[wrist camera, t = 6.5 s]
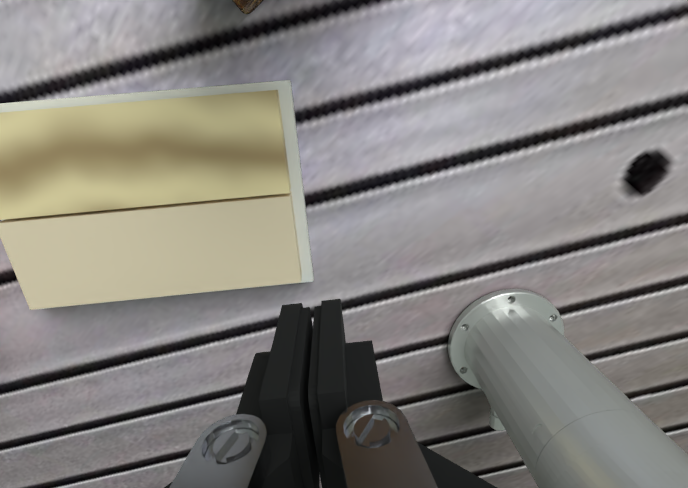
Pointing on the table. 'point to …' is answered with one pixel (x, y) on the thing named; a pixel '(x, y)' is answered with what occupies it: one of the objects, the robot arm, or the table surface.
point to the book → (247, 5)
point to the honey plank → (141, 154)
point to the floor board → (164, 232)
